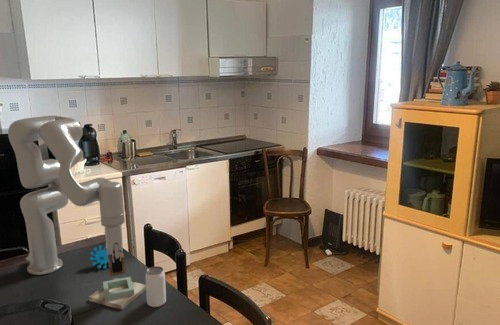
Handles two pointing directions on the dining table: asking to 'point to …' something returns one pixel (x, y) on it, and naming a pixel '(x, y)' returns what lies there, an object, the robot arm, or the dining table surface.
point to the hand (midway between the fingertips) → (116, 267)
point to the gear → (100, 257)
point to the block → (111, 265)
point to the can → (155, 286)
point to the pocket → (118, 293)
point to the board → (118, 302)
